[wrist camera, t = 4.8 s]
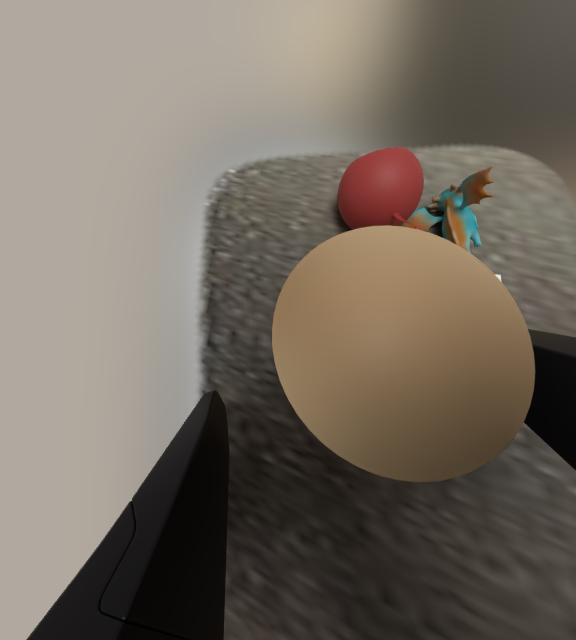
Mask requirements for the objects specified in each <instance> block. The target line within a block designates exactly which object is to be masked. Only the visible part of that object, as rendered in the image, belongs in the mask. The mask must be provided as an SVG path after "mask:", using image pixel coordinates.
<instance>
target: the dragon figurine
mask: <svg viewBox="0 0 576 640" xmlns="http://www.w3.org/2000/svg"><path fill="white" fill-rule="evenodd" d="M491 169H492V167H490V168H487V169H484V170H482V171H479V172H477V173H475V174H473V175H471V176H469V177H468V178H466V179H465V180H464V181H463V182H462V184H461V185H460V186H459V187H456V186H455V185H453V184H452V185H451V186H450V187H451V188H448V189H446V190H445V191H443V192H442V193H441V194H440V195H439V196H436V195H435V197H433V199H432V201H433V202H436V203H432V204H429V205H428V206H427V207H429V208H430V211H429V212H431V213H433V212H436V211H443V212H444V216H441V217H434V216H432V215H430V214H429V213H428V212H427V210H426V209H425V208H420V209H418V210H416V211H415V212H413V214H412V215H411V216H410V217H409V218H408V219H407V220H406V221H408V222H410V223H412V224H413V225H412V224H410V223H407V222H404V223H403V224H402V225H401V227H408V228H414V227H415V226H420V228H421V229H420V230H422V231H426V232H428V230H429V228H430V227H431V226H433V225H434V224H436V223H437V222H440V221H442V234H443V237H444V239H447V240H448V241H450V242H452V243H454V244H456V245H458V246H460V247H461V248H463V249H464V250H466V251H467V252H469V253H470V254H471V252H470V246H469V244H470V239H472V240H473V242H474V246H475V247H476V246H477V247H478V246H480V245H481V242H480V237H479V234H478V231H477V229H478V225H477V219H476V217H475V215H474V214H473V212H472V211H471V210H470V209H469V208H468V207H467V206H468V205H471V204H475V203H476V204H480V200H481V199H483V198H487V197H493V195H490V194H487V193H486V192H484V190H483V187H484V186H485V185H486V184H489V183H492V182H494V181H492V180H490V179H489V177H488V173H489V171H490V170H491ZM432 208H434V209H432Z"/></svg>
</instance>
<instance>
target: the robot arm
mask: <svg viewBox="0 0 576 640" xmlns="http://www.w3.org/2000/svg"><path fill="white" fill-rule="evenodd" d="M528 331H529V334H530V337H531V342H532V347H533V352H534V362H535V381H534V391H533V395H532V400H531V404H530V407H529V410H528V412H527V415H526V418H525V420H524V423H525V424H526V425H527V426H528V427H529V428H530V429H531V430H533V431H534V432H535V433H536V434H537V435H538V436H539V437H540V438H541V439H542V440H543V441H544V442H546V443H547V444H548V445H549V446H550V447H551V448H552V449H553V450H554V451H555V452H556V453H557V454H559V455H560V456H561V457H562V458H563V459H564V460H565V461H566V462H567V463H568V464H569V465H570V466H571V467H573V468H574V469H575V470H576V337H570V336H565V335H559V334H553V333H548V332H542V331H536V330H531V329H528ZM228 484H229V441H228V428H227V415H226V408H225V405H224V403H223V401H222V399H221V397H220V395H219V393H218V392H217V391H215V390H214V391H211V392H207V393H205V394H204V395H203V396H202V398H201V399H200V401H199V402H198V404H197V405H196V406H195V408H194V409H193V411H192V412H191V414H190V415H189V417H188V418H187V419H186V421H185V422H184V424H183V425H182V427H181V428H180V430H179V431H178V433H177V434H176V435H175V437H174V438H173V440H172V441H171V443H170V444H169V446H168V447H167V448H166V450H165V451H164V453H163V454H162V456H161V457H160V459H159V460H158V461H157V463H156V464H155V466H154V467H153V469H152V470H151V472H150V473H149V474H148V476H147V477H146V479H145V480H144V482H143V483H142V485H141V486H140V487H139V489H138V490H137V492H136V493H135V495H134V496H133V498H132V501H130V502H129V503H128V505H127V506H126V508H125V509H124V510H123V512H122V513H121V515H120V516H119V518H118V519H117V520H116V522H115V523H114V525H113V526H112V527H111V529H110V530H109V532H108V533H107V535H106V536H105V537H104V539H103V540H102V541H101V543H100V544H99V546H98V547H97V548H96V550H95V551H94V552H93V554H92V555H91V556H90V558H89V559H88V560H87V562H86V563H85V564H84V566H83V567H82V568H81V569H80V571H79V572H78V574H77V575H76V576H75V578H74V579H73V580H72V581H71V583H70V584H69V585H68V586H67V588H66V589H65V590H64V592H63V593H62V594H61V596H60V597H59V598H58V599H57V601H56V602H55V603H54V605H53V606H52V607H51V608H50V610H49V611H48V612H47V614H46V615H45V616H44V618H43V619H42V620H41V621H40V623H39V624H38V625H37V627H36V628H35V630H34V631H33V632H32V633H31V634H30V636H29V637H28V639H27V640H224V609H225V578H226V546H227V515H228Z"/></svg>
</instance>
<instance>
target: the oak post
mask: <svg viewBox="0 0 576 640" xmlns="http://www.w3.org/2000/svg"><path fill="white" fill-rule="evenodd" d="M272 347H273V354H274V360H275V365H276V369H277V372H278V376H279V379H280V382H281V384H282V387H283V389H284V391H285V394H286V396H287V398H288V400H289V402H290V403H291V405H292V407H293V408H294V410H295V412H296V413H297V415H298V416H299V417H300V419H301V420H302V421H303V423H304V424H305V425H306V426H307V428H308V429H309V430H310V431H311V432H312V433H313V434H314V435H315V436H316V437H317V438H318V439H319V440H320V441H321V442H322V443H323V444H324V445H325V446H327V447H328V448H329V449H331V450H332V451H333V452H334V453H336V454H337V455H338V456H340V457H341V458H343V459H345V460H347V461H348V462H350V463H352V464H353V465H355V466H357V467H359V468H361V469H364V470H366V471H369V472H371V473H373V474H376V475H379V476H383V477H387V478H391V479H395V480H401V481H410V482H436V481H442V480H447V479H452V478H456V477H459V476H462V475H464V474H467V473H470V472H472V471H474V470H476V469H478V468H480V467H481V466H483V465H485V464H487V463H488V462H490V461H491V460H492V459H493V458H495V457H496V456H497V455H498V454H499V453H501V452H502V451H503V450H504V449H505V448H506V447H507V445H508V444H509V443H510V442H511V441H512V440H513V438H514V437H515V436H516V434H517V432H518V431H519V429H520V427H521V426H522V424H523V422H524V420H525V418H526V415H527V412H528V410H529V407H530V404H531V400H532V395H533V391H534V381H535V362H534V352H533V347H532V342H531V337H530V334H529V331H528V329H527V326H526V323H525V320H524V318H523V316H522V314H521V312H520V310H519V308H518V306H517V304H516V302H515V301H514V299H513V298H512V296H511V294H510V293H509V291H508V290H507V289H506V287H505V286H504V285H503V284H502V282H501V281H500V280H499V279H498V277H497V276H496V275H495V274H494V273H493V272H492V271H491V270H490V269H489V268H488V267H487V266H486V265H484V264H483V263H482V262H481V261H480V260H478V259H477V258H476V257H475V256H473V255H472V254H470V253H469V252H467V251H466V250H464V249H463V248H461V247H460V246H458V245H456V244H454V243H452V242H450V241H448V240H447V239H444V238H442V237H439V236H437V235H434V234H432V233H428V232H425V231H422V230H418V229H413V228H408V227H401V226H370V227H364V228H358V229H354V230H351V231H347V232H344V233H342V234H339V235H337V236H334V237H332V238H330V239H329V240H327V241H325V242H323V243H322V244H320V245H319V246H317V247H316V248H315V249H313V250H312V251H311V252H309V253H308V254H307V255H306V256H305V257H304V258H303V259H302V260H301V261H300V262H299V263H298V265H297V266H296V267H295V268H294V270H293V271H292V272H291V274H290V275H289V277H288V279H287V281H286V282H285V284H284V286H283V288H282V291H281V293H280V295H279V298H278V301H277V305H276V309H275V312H274V319H273V327H272Z"/></svg>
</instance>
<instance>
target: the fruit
mask: <svg viewBox="0 0 576 640" xmlns="http://www.w3.org/2000/svg"><path fill="white" fill-rule="evenodd" d="M423 184H424V179H423V171H422V168H421V165H420V163H419V161H418V159H417V158H416V156H415V155H414V154H413V153H412V152H411V151H409V150H408V149H406V148H402V147H393V148H386V149H382V150H378V151H375V152H372V153H369V154H366V155H364V156H362V157H360V158H358V159H357V160H355V161H354V162H352V163H351V164H350V165H349V166H348V168H347V169H346V171H345V173H344V175H343V177H342V179H341V182H340V185H339V189H338V207H339V211H340V214H341V216H342V218H343V220H344V221H345V223H346V224H347V225H348V226H349V227H350V228H351V229H352V230H354V229H358V228H364V227H370V226H401V225H402V224H403V223H404V222H407V223H410V222H408V221H406V220H407V219H408V218H409V217H410V216H411V215H412V214H413V212H414V211H415V209H416V207H417V205H418V203H419V201H420V198H421V195H422V191H423ZM410 224H412V223H410ZM412 225H413V224H412ZM413 229H418V230H420V229H421V228H420V226H415V227H414V228H413Z"/></svg>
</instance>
